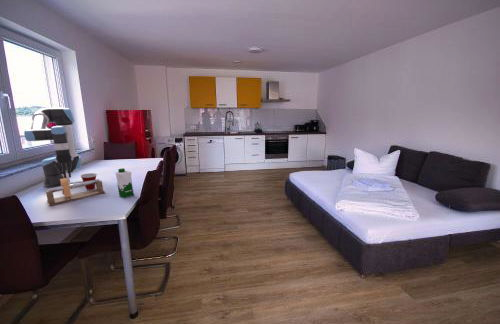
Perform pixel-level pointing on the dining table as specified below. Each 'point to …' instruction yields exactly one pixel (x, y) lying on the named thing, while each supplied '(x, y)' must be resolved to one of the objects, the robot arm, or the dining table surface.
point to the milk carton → (124, 183)
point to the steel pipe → (75, 185)
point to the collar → (65, 187)
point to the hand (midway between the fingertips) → (68, 182)
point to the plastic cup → (88, 178)
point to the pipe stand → (74, 195)
